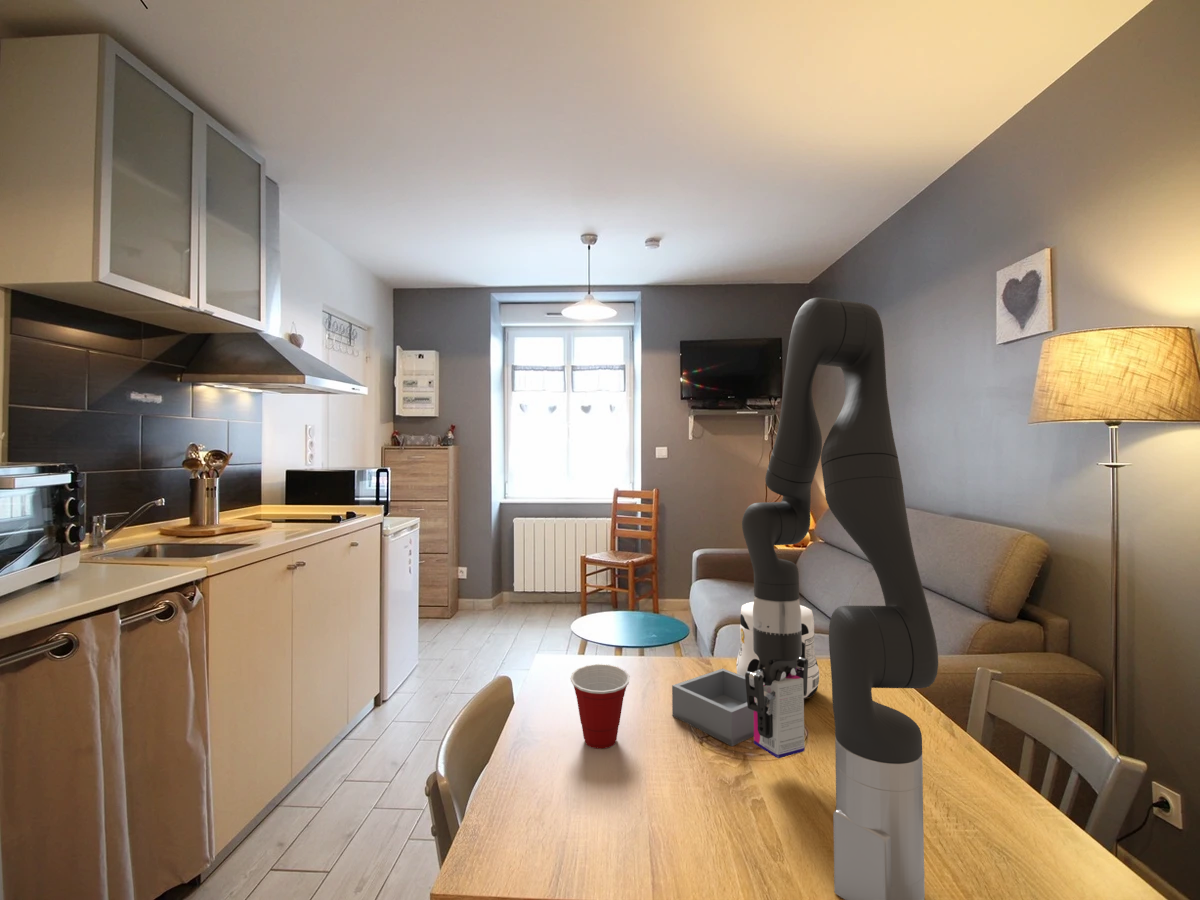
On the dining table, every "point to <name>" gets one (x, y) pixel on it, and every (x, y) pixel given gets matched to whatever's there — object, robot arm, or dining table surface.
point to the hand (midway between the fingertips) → (778, 729)
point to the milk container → (751, 661)
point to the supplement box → (784, 718)
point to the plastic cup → (600, 702)
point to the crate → (715, 706)
